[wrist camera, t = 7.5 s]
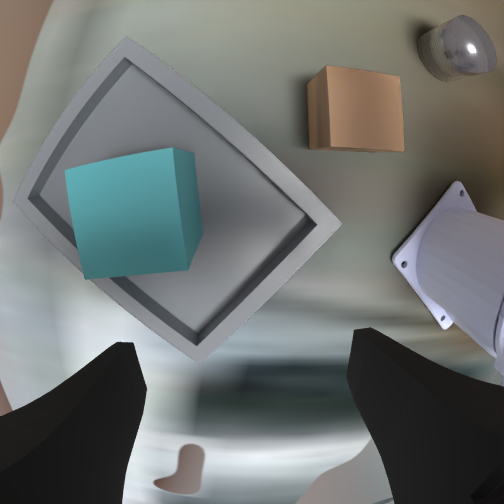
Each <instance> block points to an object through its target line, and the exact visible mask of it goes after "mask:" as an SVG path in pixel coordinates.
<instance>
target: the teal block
mask: <svg viewBox="0 0 504 504" xmlns="http://www.w3.org/2000/svg"><path fill="white" fill-rule="evenodd" d="M65 177H66V185H67V193H68V200H69V206H70V212H71V218H72V224H73V229H74V234H75V239H76V244H77V248H78V253H79V257H80V262H81V266H82V270H83V274H84V277H85V280H86V279H97V278H109V277H120V276H132V275H143V274H154V273H165V272H175V271H186V270H189V267H190V265H191V262H192V260H193V257H194V255H195V252H196V250H197V247H198V245H199V242H200V240H201V238H202V235H203V227H202V219H201V211H200V202H199V194H198V185H197V175H196V165H195V155H194V153H191V152H188V151H184V150H180V149H176V148H167V149H160V150H155V151H149V152H143V153H138V154H132V155H127V156H122V157H118V158H113V159H108V160H104V161H99V162H95V163H91V164H87V165H82V166H79V167H75V168H71V169H67V170H65Z"/></svg>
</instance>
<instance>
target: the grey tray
mask: <svg viewBox="0 0 504 504" xmlns="http://www.w3.org/2000/svg"><path fill="white" fill-rule="evenodd" d="M167 148H176V149H180V150H184V151H188V152H191V153H194V155H195V165H196V175H197V185H198V194H199V202H200V211H201V219H202V227H203V235H202V238H201V240H200V242H199V245H198V247H197V250H196V252H195V255H194V257H193V260H192V262H191V265H190V267H189V270H186V271H175V272H165V273H154V274H143V275H132V276H120V277H109V278H97V279H90V280H91V281H92V282H93V283H94V284H96V285H97V286H98V287H99V288H100V289H101V290H103V291H104V292H105V293H106V294H107V295H108V296H110V297H111V298H112V299H113V300H114V301H116V302H117V303H118V304H119V305H120V306H122V307H123V308H124V309H125V310H126V311H128V312H129V313H130V314H131V315H133V316H134V317H135V318H137V319H138V320H139V321H140V322H142V323H143V324H144V325H146V326H147V327H148V328H149V329H151V330H152V331H153V332H155V333H156V334H157V335H159V336H160V337H161V338H163V339H164V340H166V341H167V342H168V343H170V344H171V345H172V346H174V347H175V348H177V349H178V350H180V351H181V352H182V353H184V354H185V355H187V356H188V357H190V358H191V359H193V360H194V361H195V362H197V363H198V364H201V363H202V362H203V361H204V360H205V359H206V358H207V357H208V356H209V355H210V354H211V353H213V352H214V351H215V350H216V349H217V348H218V347H219V346H220V345H221V344H222V343H223V342H224V341H225V340H227V339H228V338H229V337H230V336H231V335H232V334H233V333H234V332H235V331H236V330H237V329H238V328H239V327H240V326H241V325H242V324H243V323H244V322H246V321H247V320H248V319H249V318H250V317H251V316H252V315H253V314H254V313H255V312H256V311H257V310H258V309H259V308H260V307H261V306H262V305H263V304H264V303H265V302H266V301H267V300H268V299H269V298H270V297H271V296H272V295H273V294H274V293H275V292H276V291H277V290H278V289H279V288H280V287H281V286H282V285H283V284H284V283H285V282H286V281H287V280H288V279H289V278H290V277H291V276H292V275H293V274H294V273H295V272H296V271H297V270H298V269H299V268H300V267H301V266H302V265H303V264H304V263H305V262H306V261H307V260H308V259H309V258H310V257H311V256H312V255H313V254H314V253H315V252H316V251H317V250H318V249H319V248H320V247H321V246H322V245H323V244H324V243H325V242H326V241H327V240H328V239H329V238H330V236H331V235H332V234H333V233H334V232H335V231H336V230H337V229H338V228H339V227H340V226H341V225H342V223H341V222H340V221H339V220H338V218H337V217H336V216H335V215H334V214H333V213H332V212H331V211H330V210H329V209H328V208H327V207H326V206H325V205H324V204H323V203H322V202H321V201H320V200H319V199H318V198H317V197H316V196H315V195H314V194H313V193H312V192H311V191H310V190H309V189H308V188H307V187H306V186H305V185H304V184H303V183H302V182H301V181H300V180H299V179H298V178H297V177H296V176H295V175H294V174H293V173H292V172H291V171H290V170H289V169H288V168H287V167H286V166H285V165H284V164H283V163H282V162H281V161H280V160H279V159H278V158H277V157H276V156H274V155H273V154H272V153H271V152H270V151H269V150H268V149H267V148H266V147H265V146H264V145H263V144H261V143H260V142H259V141H258V140H257V139H256V138H255V137H254V136H253V135H252V134H250V133H249V132H248V131H247V130H246V129H245V128H244V127H243V126H241V125H240V124H239V123H238V122H237V121H236V120H235V119H233V118H232V117H231V116H230V115H229V114H228V113H226V112H225V111H224V110H223V109H222V108H221V107H219V106H218V105H217V104H216V103H215V102H213V101H212V100H211V99H210V98H209V97H207V96H206V95H205V94H204V93H202V92H201V91H200V90H199V89H197V88H196V87H195V86H194V85H192V84H191V83H190V82H189V81H187V80H186V79H185V78H184V77H182V76H181V75H180V74H178V73H177V72H176V71H174V70H173V69H172V68H171V67H169V66H168V65H167V64H165V63H164V62H163V61H161V60H160V59H158V58H157V57H156V56H154V55H153V54H152V53H150V52H149V51H147V50H146V49H145V48H143V47H142V46H140V45H139V44H138V43H136V42H135V41H133V40H132V39H130V38H129V37H127V36H126V37H125V38H124V39H123V40H122V41H121V42H120V43H119V44H118V45H117V46H116V47H115V48H114V49H113V50H112V51H111V52H110V53H109V55H108V56H107V57H106V58H105V59H104V60H103V61H102V62H101V64H100V65H99V66H98V67H97V68H96V69H95V71H94V72H93V73H92V74H91V76H90V77H89V78H88V79H87V81H86V82H85V83H84V84H83V86H82V87H81V88H80V89H79V91H78V92H77V93H76V95H75V96H74V97H73V99H72V100H71V102H70V103H69V104H68V106H67V107H66V109H65V110H64V111H63V113H62V114H61V116H60V117H59V119H58V120H57V122H56V123H55V125H54V126H53V128H52V130H51V131H50V133H49V134H48V136H47V138H46V139H45V141H44V142H43V144H42V146H41V148H40V149H39V151H38V153H37V154H36V156H35V158H34V160H33V162H32V163H31V165H30V167H29V169H28V171H27V173H26V175H25V177H24V179H23V181H22V183H21V185H20V187H19V189H18V191H17V193H16V195H15V197H14V200H13V202H14V203H15V204H16V206H17V207H18V208H19V209H20V210H21V211H22V212H23V213H24V215H25V216H26V217H27V218H28V219H29V220H30V221H31V222H32V223H33V224H34V225H35V227H36V228H37V229H38V230H39V231H40V232H41V233H42V234H43V235H44V236H45V237H46V238H47V239H48V240H49V241H50V242H51V243H52V244H53V245H54V246H55V247H56V248H57V249H58V250H59V251H60V252H61V253H62V254H63V255H64V256H65V257H66V258H67V259H68V260H69V261H70V262H71V263H73V264H74V265H75V266H76V267H77V268H78V269H79V270H80V271H81V272H82V273H83V270H82V266H81V262H80V257H79V253H78V248H77V244H76V239H75V234H74V229H73V224H72V218H71V212H70V206H69V200H68V193H67V185H66V177H65V170H67V169H71V168H75V167H79V166H82V165H87V164H91V163H95V162H99V161H104V160H108V159H113V158H118V157H122V156H127V155H132V154H138V153H143V152H149V151H155V150H160V149H167Z"/></svg>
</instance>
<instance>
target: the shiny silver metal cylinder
mask: <svg viewBox="0 0 504 504" xmlns="http://www.w3.org/2000/svg"><path fill="white" fill-rule="evenodd" d="M417 48H418V53H419V56H420V59H421V61H422V63H423V64H424V66H425V67H426V69H427V70H428V71H429V72H430V73H431V74H432V75H433V76H434V77H436V78H437V79H439V80H441V81H445V82H449V81H453V80H457V79H461V78H465V77H469V76H473V75H477V74H481V73H486V72H490V71H492V70H494V69H495V67H496V62H497V59H496V52H495V49H494V46H493V43H492V41H491V39H490V37H489V36H488V34H487V33H486V31H485V30H484V29H483V28H482V26H481V25H480V24H479V23H477V22H476V21H475V20H474V19H472V18H470V17H468V16H465V15H460V16H458V17H456V18H454V19H452V20H450V21H448V22H446V23H444V24H442V25H440V26H438V27H436V28H434V29H432V30H430V31H429V32H427V33H425V34H423V35H422V36H420V38H419V40H418V44H417Z"/></svg>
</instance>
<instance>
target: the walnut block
mask: <svg viewBox="0 0 504 504" xmlns="http://www.w3.org/2000/svg"><path fill="white" fill-rule="evenodd" d="M307 101H308V122H309V150H338V151H358V152H404V128H403V110H402V97H401V87H400V77H397V76H393V75H388V74H383V73H377V72H372V71H366V70H359V69H352V68H345V67H337V66H328V65H326V66H325V67H324V68H323V69H322V70H321V71H320V72H319V73H318V74H317V75H316V76H315V77H314V78H313V79H312V80H311V81H310V82H309V83H308V84H307Z"/></svg>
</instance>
